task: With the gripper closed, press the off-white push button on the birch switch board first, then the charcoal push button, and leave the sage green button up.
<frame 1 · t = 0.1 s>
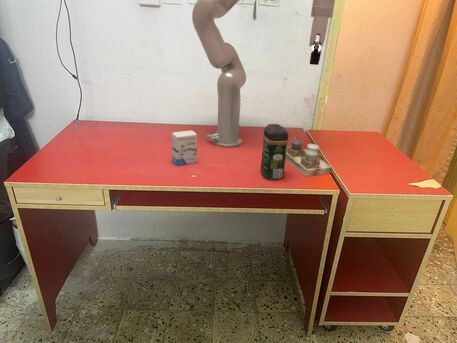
hand: (314, 62, 129), 37 cm above the table, tool pointing down, fingers open, 9 cm apart
switch board: (305, 164, 135), on the table
coffee jar: (271, 174, 126), on the table
ink box: (184, 162, 133), on the table
charcoal button: (296, 146, 136), point 6 cm above the table, slide at 0.0 cm
car toy: (294, 143, 157), on the table
sage button: (310, 157, 127), point 6 cm above the table, slide at 0.0 cm
white button: (312, 150, 133), point 6 cm above the table, slide at 0.0 cm
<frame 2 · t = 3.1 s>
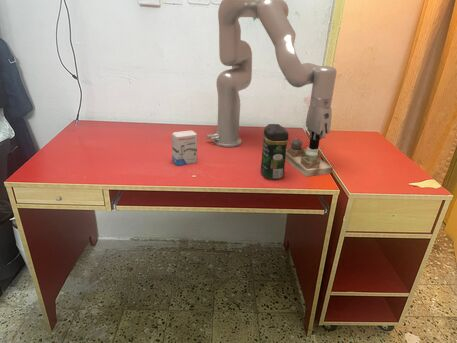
hand: (313, 148, 132), 7 cm above the table, tool pointing down, fingers closed
white button: (312, 153, 133), point 5 cm above the table, slide at 1.0 cm, touching gripper
everything else where it was.
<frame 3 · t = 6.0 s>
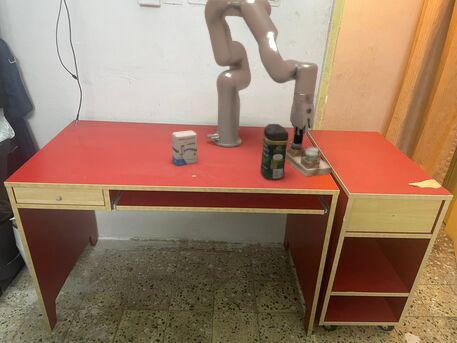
hand: (297, 143, 135), 7 cm above the table, tool pointing down, fingers closed
charcoal button: (296, 148, 136), point 5 cm above the table, slide at 0.6 cm, touching gripper
white button: (311, 153, 133), point 5 cm above the table, slide at 1.2 cm
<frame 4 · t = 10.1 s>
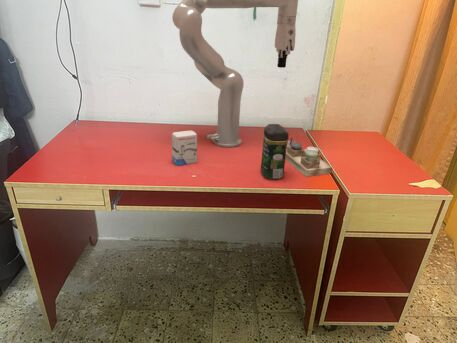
hand: (281, 67, 148), 32 cm above the table, tool pointing down, fingers closed
charcoal button: (296, 149, 137), point 5 cm above the table, slide at 1.2 cm
at the end: white button slide at 1.2 cm; charcoal button slide at 1.2 cm; sage button slide at 0.0 cm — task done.
